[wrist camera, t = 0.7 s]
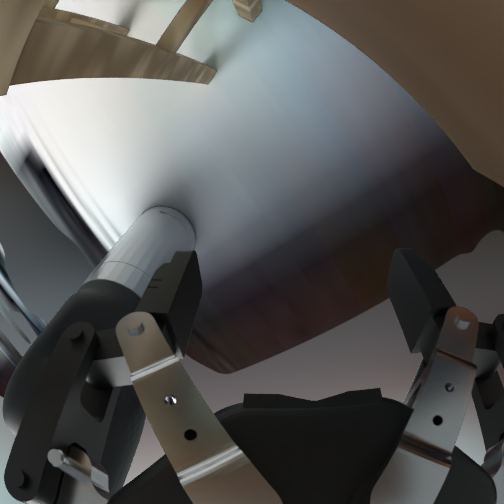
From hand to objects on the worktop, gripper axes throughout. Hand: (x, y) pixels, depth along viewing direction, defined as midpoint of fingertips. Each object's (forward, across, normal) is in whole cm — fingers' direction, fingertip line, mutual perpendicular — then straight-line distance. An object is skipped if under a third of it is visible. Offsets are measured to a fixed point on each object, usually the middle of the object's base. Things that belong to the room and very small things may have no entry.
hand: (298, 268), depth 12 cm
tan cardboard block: (-5, -8, +16) cm, 18 cm away
